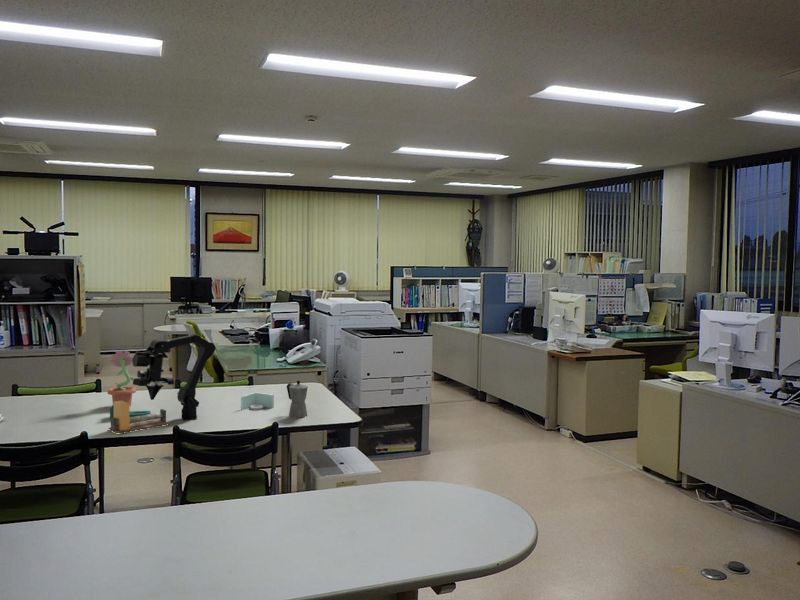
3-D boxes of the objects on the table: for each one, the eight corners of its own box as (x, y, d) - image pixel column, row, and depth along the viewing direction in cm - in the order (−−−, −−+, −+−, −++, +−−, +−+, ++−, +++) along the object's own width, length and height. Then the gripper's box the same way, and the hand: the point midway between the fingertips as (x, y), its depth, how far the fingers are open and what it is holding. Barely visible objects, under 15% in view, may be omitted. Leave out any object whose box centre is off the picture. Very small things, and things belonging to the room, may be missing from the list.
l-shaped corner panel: (241, 410, 328) (241, 396, 328) (255, 405, 339) (255, 392, 339) (259, 413, 323) (259, 399, 323) (273, 408, 334) (273, 394, 334)
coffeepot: (313, 416, 318) (314, 381, 317) (299, 419, 311) (299, 384, 309) (294, 410, 328) (294, 376, 327) (279, 414, 321) (280, 379, 320)
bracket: (110, 420, 304) (109, 404, 303) (111, 416, 310) (111, 401, 309) (149, 418, 309) (149, 402, 309) (151, 414, 316) (150, 399, 315)
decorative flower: (139, 402, 338) (139, 347, 336) (137, 409, 325) (136, 351, 323) (109, 404, 334) (108, 348, 332) (105, 410, 321) (105, 352, 318)
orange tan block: (122, 425, 291) (122, 400, 290) (129, 428, 285) (129, 403, 284) (113, 426, 288) (113, 401, 287) (120, 430, 282) (120, 405, 281)
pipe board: (159, 420, 304) (159, 407, 304) (169, 425, 297) (169, 411, 297) (108, 430, 287) (108, 416, 287) (116, 434, 280) (116, 420, 280)
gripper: (162, 364, 308) (158, 395, 308) (127, 364, 292) (123, 398, 292) (176, 367, 302) (172, 399, 302) (142, 368, 286) (138, 402, 286)
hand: (152, 399), depth 296 cm, fingers closed
